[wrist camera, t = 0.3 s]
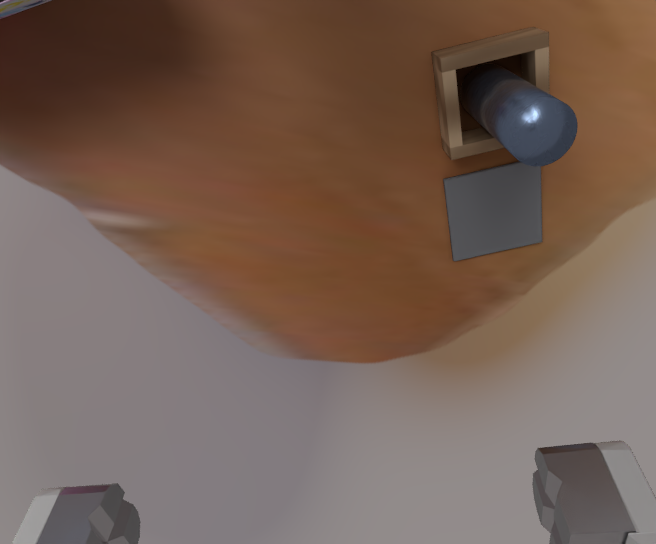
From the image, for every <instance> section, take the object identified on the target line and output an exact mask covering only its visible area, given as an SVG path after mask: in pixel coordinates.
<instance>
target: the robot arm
mask: <svg viewBox="0 0 656 544" xmlns="http://www.w3.org/2000/svg"><path fill="white" fill-rule="evenodd" d="M535 462H536V465H537V468H538V470H537V471H536V472H535V473H533V492H534V499H535V504H536V508H537V512H538V515H539V519H540V522H541V525H542V526H543V527H545V528H546V529H547V530H548V531H549V532H550V533H551V536H550V544H656V497H655V495H654V493H653V491H652V489H651V487H650V486H649V484H648V482H647V480H646V478H645V476H644V474H643V472H642V470H641V468H640V466H639V464H638V462H637V460H636V458H635V456H634V454H633V452H632V451H631V448H630V447H629V446H628V445H627V444H626V443H625V442H624V441H612V442H601V443H584V444H574V445H564V446H554V447H544V448H538V449H537V450H536V453H535ZM124 493H125V492H124V491H123V489H122V488H121V487H120V486H119V484H118V483H115V484H104V485H103V484H102V485H89V486H77V487H59V488H48V489H42V490H41V491H40V492H39V493H38V494H37V495H36V496H35V498H34V499H33V502H32V503H31V505H30V508H29V510H28V512H27V514H26V516H25V518H24V520H23V522H22V524H21V526H20V528H19V530H18V532H17V534H16V536H15V538H14V540H13V542H12V544H138V541H139V537H140V518H139V515H138V511H137V510H136V508H135V507H134V505H133V504H131V503H129V502H127V501H125V500H123V496H124Z"/></svg>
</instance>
